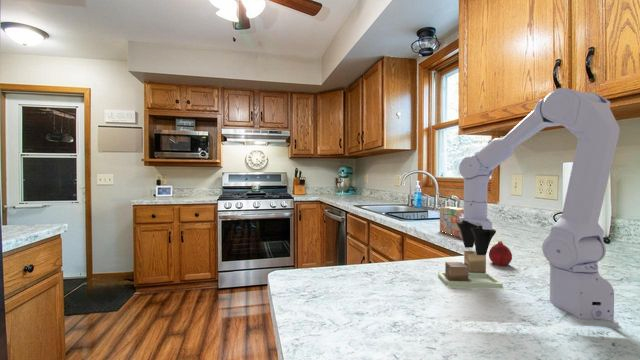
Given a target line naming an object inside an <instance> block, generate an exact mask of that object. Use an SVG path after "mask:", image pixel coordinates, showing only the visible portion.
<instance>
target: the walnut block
mask: <svg viewBox="0 0 640 360" xmlns="http://www.w3.org/2000/svg"><path fill="white" fill-rule="evenodd" d="M444 265H445V269H444V270H445V277H446V278H447V279H448V280H449V281H468V273H469V271H468V267H467V266H466V265H465V264H464V262H462V261H445V262H444Z"/></svg>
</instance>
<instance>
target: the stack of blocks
mask: <svg viewBox="0 0 640 360" xmlns="http://www.w3.org/2000/svg"><path fill="white" fill-rule="evenodd" d="M461 214H464V207H455V206H439V232H440V231H443V232H446V233H449V234H452V235H455V236H457V237H456V238H458V237H460V238H459V239H461V238H462V234H461V231H460V229H459V227H458V225H457V222H462V220H460V219H459V217H461ZM443 232H442V233H443ZM446 233H445V234H446ZM449 234H448V235H449ZM452 235H451V236H452ZM455 236H454V237H455Z"/></svg>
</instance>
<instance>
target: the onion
mask: <svg viewBox="0 0 640 360" xmlns="http://www.w3.org/2000/svg"><path fill="white" fill-rule="evenodd" d="M488 258H489V260H490V261H491V262H492V264H493V265H496V266H501V267H505V266H507V265H509V264H510V263H511V262H512V260H513V253H512V252H511V250H510V248H509V247H508V246H507V245H505V244H504V243H503V241H502V240H498V241H497V243H496V244H494V245H492V247H490V249H489V251H488Z"/></svg>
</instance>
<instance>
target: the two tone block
mask: <svg viewBox="0 0 640 360" xmlns="http://www.w3.org/2000/svg"><path fill="white" fill-rule="evenodd" d="M463 264H465V265H466V266H467V267H468V273H486V274H487V269H486V268H487V254H486V255H477V254H476V250H464V251H463Z"/></svg>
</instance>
